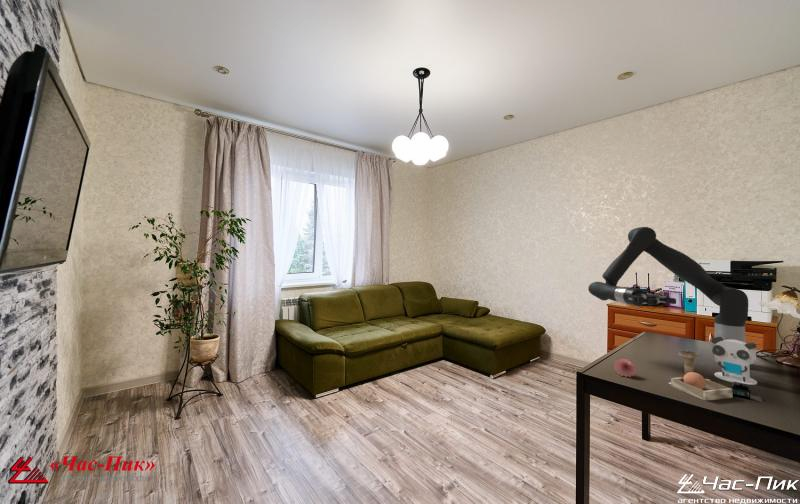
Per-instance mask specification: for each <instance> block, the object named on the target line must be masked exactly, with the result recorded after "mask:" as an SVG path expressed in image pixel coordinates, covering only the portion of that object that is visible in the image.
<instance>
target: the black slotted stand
mask: <svg viewBox="0 0 800 504" xmlns="http://www.w3.org/2000/svg"><path fill="white" fill-rule="evenodd" d="M730 388H731V389H733V398H739V399H742V400H748V401H751V402H757V403H760V404H764V402H763V400H762V397H761V396H757V395H754V394H753V395H752V394H751V393H752V391H751V388H750V385H748V384H744V383H739V382H734V381H733V382H732V383H731V385H730ZM740 391H742V392H740Z"/></svg>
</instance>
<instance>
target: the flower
mask: <svg viewBox="0 0 800 504" xmlns="http://www.w3.org/2000/svg"><path fill="white" fill-rule="evenodd" d="M614 362H615V363H613V365H614V366H613V368H614V369H615V372H617V374H618V375H621V377H625V378H627V377H629V378H632V377H635V375H637V371H638V369H637V366H635V364H636V363H635V362H634V363H633V361H632V360H630V359H629V358H627V359H626V358H625V357H623V358H621V357H619V359H618V358H616V360H614Z"/></svg>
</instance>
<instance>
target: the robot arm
mask: <svg viewBox="0 0 800 504" xmlns="http://www.w3.org/2000/svg"><path fill="white" fill-rule="evenodd" d="M627 240H628V242H629V243H628V245H627V246H626V248H625V249H624V250H622V252H621V253H620V254H619V255H618V256H617V257H616V258H615V259H614V260H613V261H612V262H611V263H610V264H609V266H608V267H607V268H606V269H605V271H604V272H603V274H602V278H603V280H604V281H605V282H601V281H594V282H591V283H590V284H589V285H588V288H587V289H588V292H589V293H590V294H591V295H592V296H593V297H596V298H597V299H598V300H601V301H608V300H610V301H612V302H618V303H619V302H620V303H622V304H626V305H631V306H636V307H641V306H642V305H647V304H648V305H654V306H658V305H659V304H660V303H664V304H671V305H677V299H676V297H675V298H673V297H670V296H669V295H662V294H656V293H655V294H654V293H653V294H651V293H649V292H648V293H646V292H645V290H643V289H642V288H638V287H637V288H636V287H629V286H617V285H618V282H619V281H620V279H622V278H623V276H624V275H625V273H626V272H627V271H628V269H629V268H630V267H631V266H632V265H633V264H634V262H635V261H636V260H637V258H638V257H639V256H640V255H642V254H643V252H645V253H647V254H648V255H650V257H652V258H654V260H656V261H657V262H659V264H661V265H662V266H664V267H665V268H666V269H668V270H669V271H670V272H672V274H674V275H676V276H677V277H679V278H680V279H681V280H683V281H684V282H686V283H687V284H688V285H689V284H690V285H691V286H692V287H694V288H696V289H697V290H698V291H700V292H701V293H702V294H703V295H705V296H706V297H707V299H709V300H710V301H711V303H712V302H713V303H714V305H716V306H718V307H719V313H718V314H717V315H716V316H715V317H714V338H715V337H722V338H723V340H738V341H742V342H745V343H746V322H747V321H748V316H749V297H748V295H747V294H746V292H744V291H743V290H741V289H738V288H734V287H730V286H729V287H728V286H726V285H724V284H723V283H721V282H720V281H718V280H717V279H715V278H713V277H712V276H710V274H709V273H708V272H707V271H706V270H705V269H704V267H703V266H702V265H700V264H699V263H698V262H697V261H696V260H694V259H693V258H691V257H690V256H688V255H687V254H685V253H683V252H681V251H679V250H678V249H675V248H673V247H671V246H668V245H666V244H664V243H662V242H661V241H660V240H659V239H657V233H656V231H655V230H654V229H653V228H651V227H648V226H639V227H635V228H633V229H631V230H630V231H629V232H628V234H627ZM714 361H715V362H716V363H718V362H721V361H719V360H718V359H717V358H716V357H715V356H714Z"/></svg>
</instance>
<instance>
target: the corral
mask: <svg viewBox="0 0 800 504" xmlns="http://www.w3.org/2000/svg"><path fill="white" fill-rule="evenodd" d="M683 378H684V376H679V377H671V381H670V382H671V384H670V387H672V388H675V389H677V390H678V391H679V390H680V391H681V392H684V393H687V394H689V395H691V396H694V397H696V398H698V399H701V400H703V401H714V400H723V399H724V400H726V399H733V398H734V397H733V389H731V387H728V386H725V385H723V384H721V383H718V382H714V381H712V380H711V381H709V380H710V379H709V380H707V379H708V378H704V379H705V380H706V386H705V388H704V389H699V388H697V387H694V386H691V385H689V384H686V383H684V380H683ZM705 389H706V390H705Z"/></svg>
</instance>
